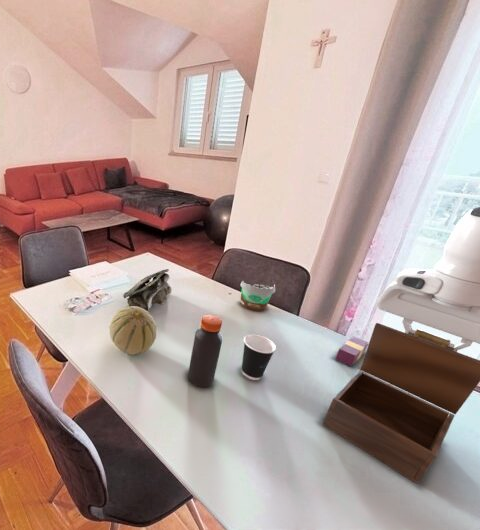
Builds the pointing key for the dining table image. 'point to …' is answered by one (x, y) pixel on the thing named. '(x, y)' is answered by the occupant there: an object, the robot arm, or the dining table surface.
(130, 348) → the cantaloupe
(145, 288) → the hollow geode rock
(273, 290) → the food container
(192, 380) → the bottle
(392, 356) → the lid
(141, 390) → the dining table surface
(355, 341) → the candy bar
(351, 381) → the chest
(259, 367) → the dixie cup
